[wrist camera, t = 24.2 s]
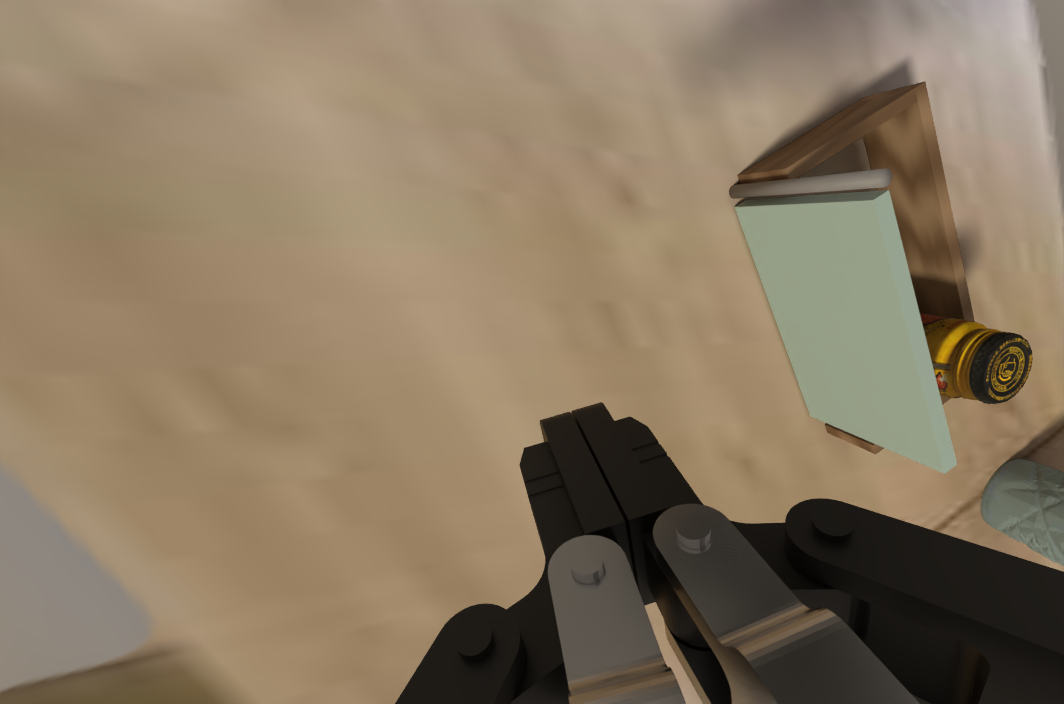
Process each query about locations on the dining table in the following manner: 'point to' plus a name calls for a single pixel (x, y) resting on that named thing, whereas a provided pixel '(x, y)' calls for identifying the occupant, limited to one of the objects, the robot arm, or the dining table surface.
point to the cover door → (848, 309)
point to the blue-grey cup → (1028, 506)
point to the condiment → (976, 359)
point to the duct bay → (893, 193)
